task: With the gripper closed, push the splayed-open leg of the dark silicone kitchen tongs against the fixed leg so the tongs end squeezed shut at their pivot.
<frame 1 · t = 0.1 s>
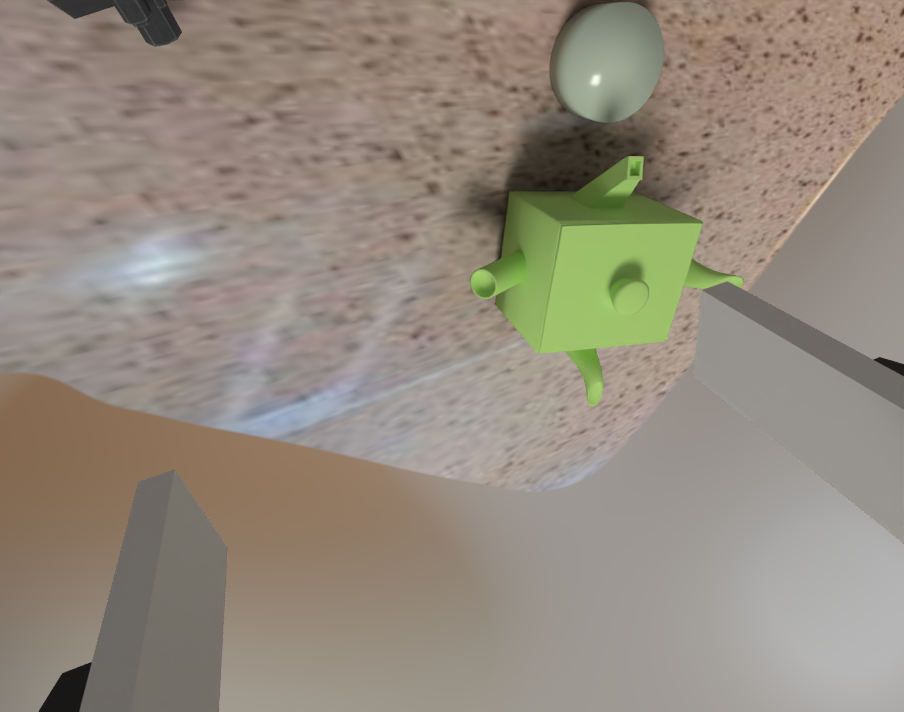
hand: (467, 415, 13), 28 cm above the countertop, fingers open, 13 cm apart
kettle: (556, 249, 44), on the countertop
grey-green pebble: (593, 63, 38), on the countertop
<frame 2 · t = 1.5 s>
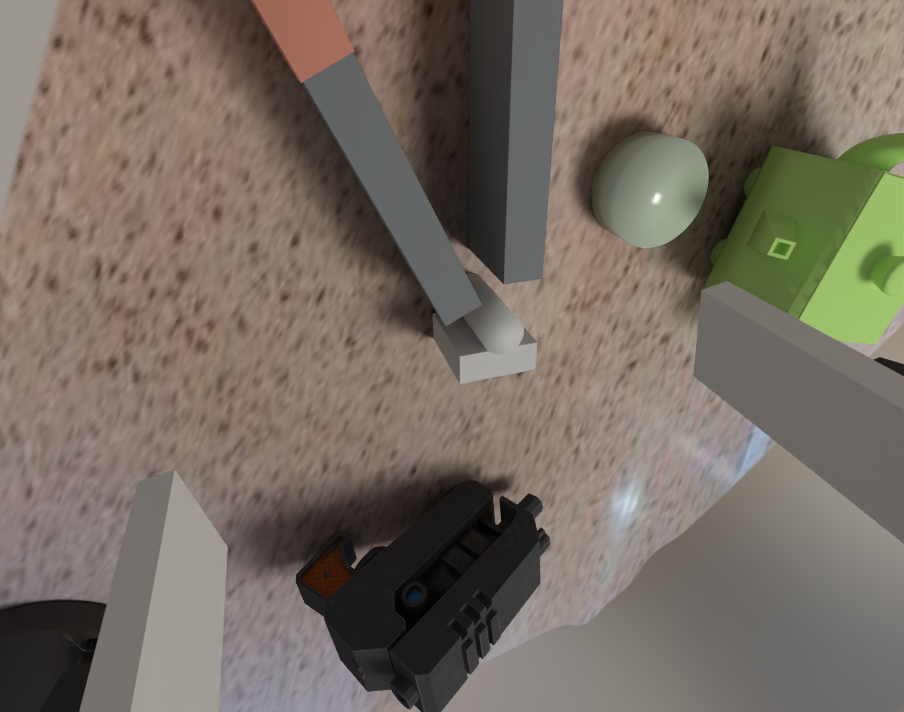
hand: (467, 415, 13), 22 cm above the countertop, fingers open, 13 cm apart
kettle: (769, 220, 43), on the countertop
tool: (417, 515, 47), on the countertop
tongs base: (485, 288, 37), on the countertop
grey-green pebble: (634, 184, 37), on the countertop
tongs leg: (374, 161, 28), point 3 cm above the countertop, hinge at 25.0°
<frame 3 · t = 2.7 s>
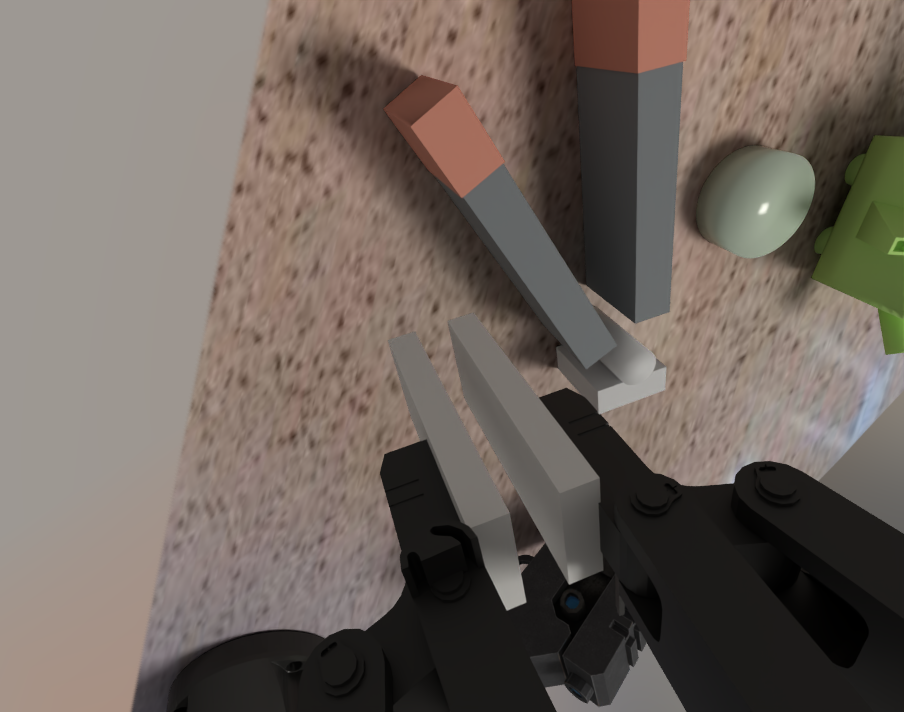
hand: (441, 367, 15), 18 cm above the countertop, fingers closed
kettle: (871, 201, 43), on the countertop
tool: (549, 522, 51), on the countertop
tongs base: (602, 316, 40), on the countertop
grey-green pebble: (737, 196, 38), on the countertop
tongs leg: (511, 236, 31), point 3 cm above the countertop, hinge at 25.0°
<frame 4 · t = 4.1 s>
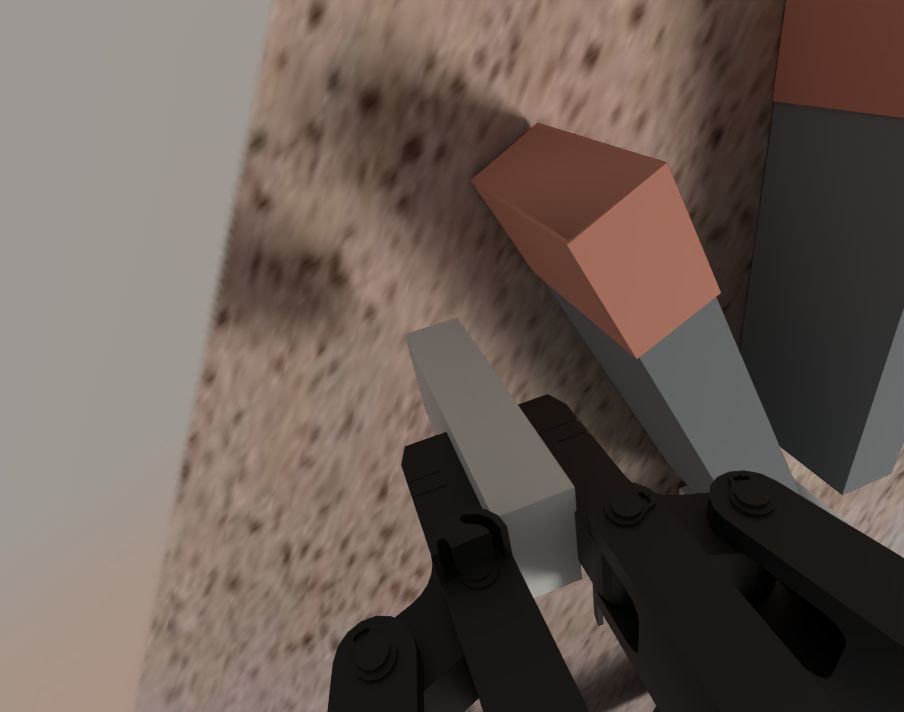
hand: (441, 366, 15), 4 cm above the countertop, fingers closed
tongs base: (745, 444, 28), on the countertop
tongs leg: (667, 378, 19), point 3 cm above the countertop, hinge at 25.0°
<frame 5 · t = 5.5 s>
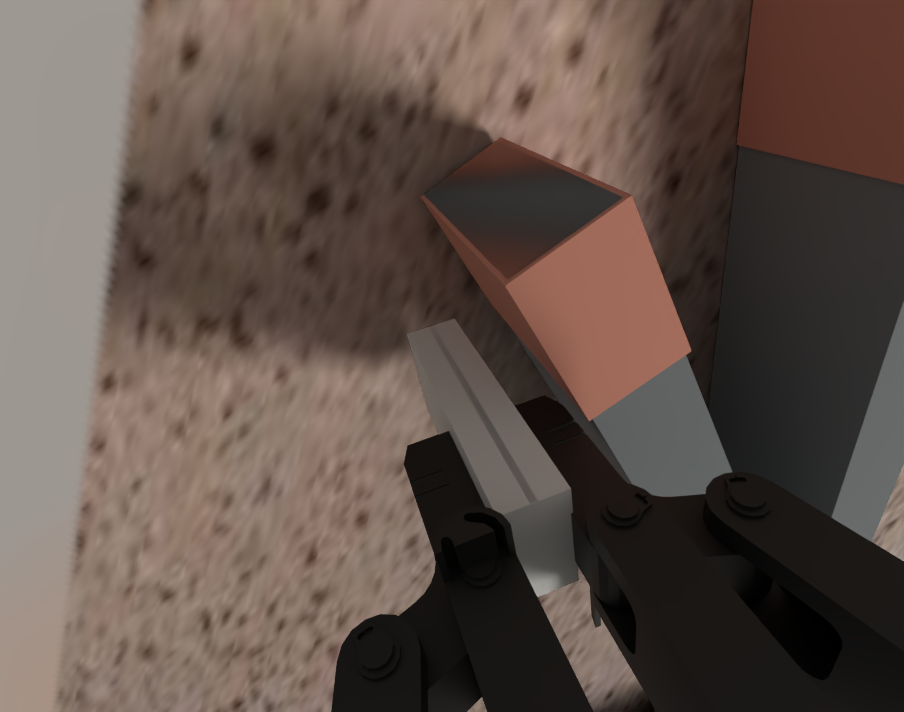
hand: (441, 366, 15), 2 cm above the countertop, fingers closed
tongs base: (718, 499, 26), on the countertop
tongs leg: (633, 432, 17), point 3 cm above the countertop, hinge at 21.4°, touching gripper
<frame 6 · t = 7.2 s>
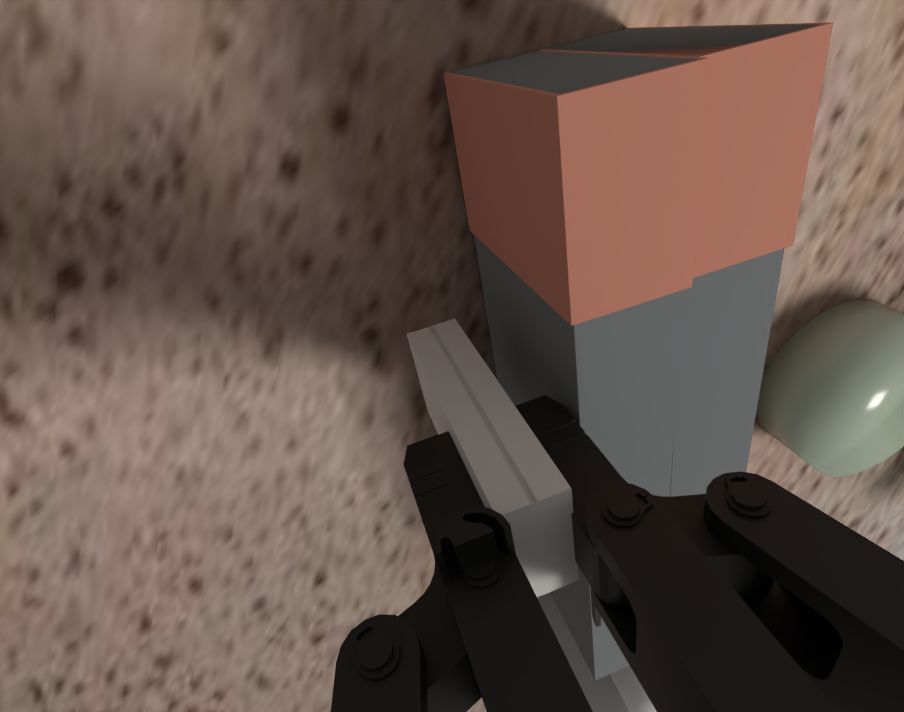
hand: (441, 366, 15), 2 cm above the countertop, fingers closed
tongs base: (603, 547, 25), on the countertop
grey-green pebble: (820, 370, 24), on the countertop
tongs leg: (571, 412, 16), point 3 cm above the countertop, hinge at -0.3°, touching gripper
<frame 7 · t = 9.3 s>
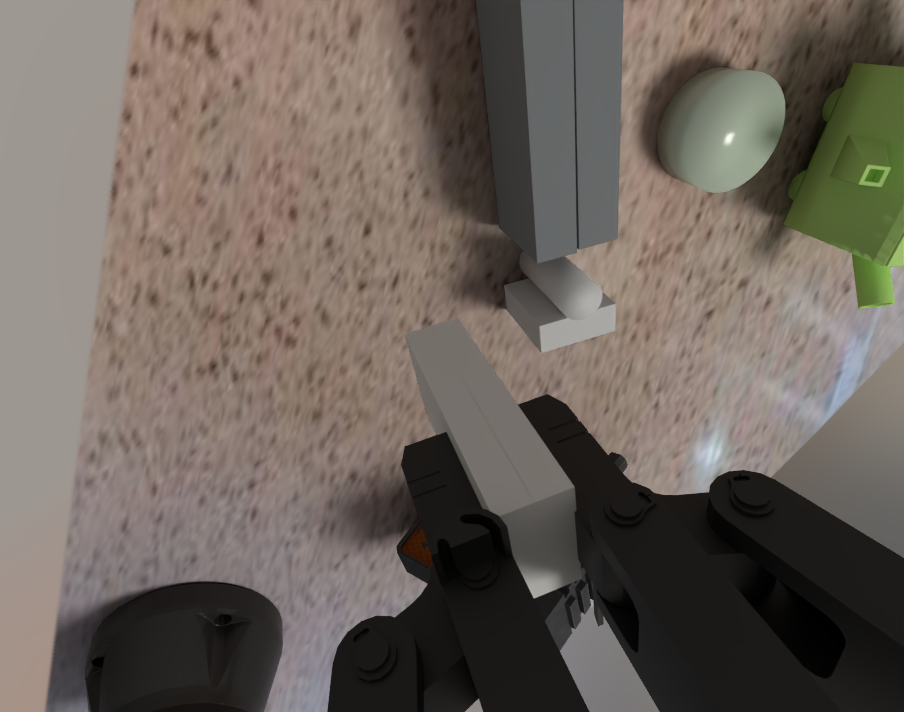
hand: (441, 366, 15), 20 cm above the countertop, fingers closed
kettle: (851, 144, 40), on the countertop
tool: (502, 482, 48), on the countertop
tongs base: (555, 253, 37), on the countertop
grey-green pebble: (703, 126, 35), on the countertop
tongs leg: (525, 73, 27), point 3 cm above the countertop, hinge at -0.3°
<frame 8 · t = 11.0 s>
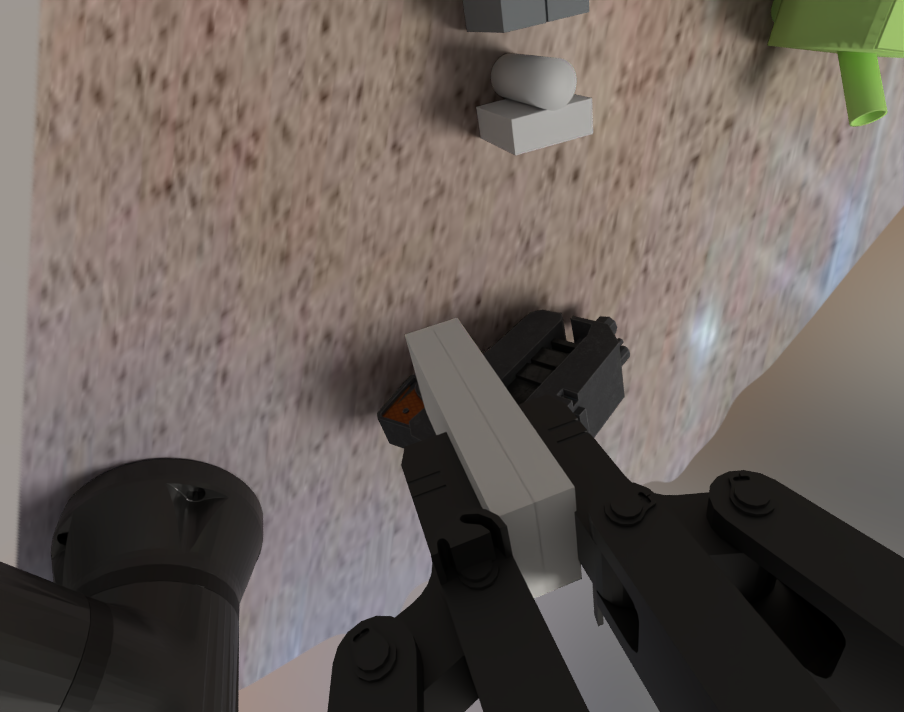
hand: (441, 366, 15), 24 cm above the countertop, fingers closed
tool: (487, 355, 46), on the countertop
tongs base: (528, 71, 35), on the countertop
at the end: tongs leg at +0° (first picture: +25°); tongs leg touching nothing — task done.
